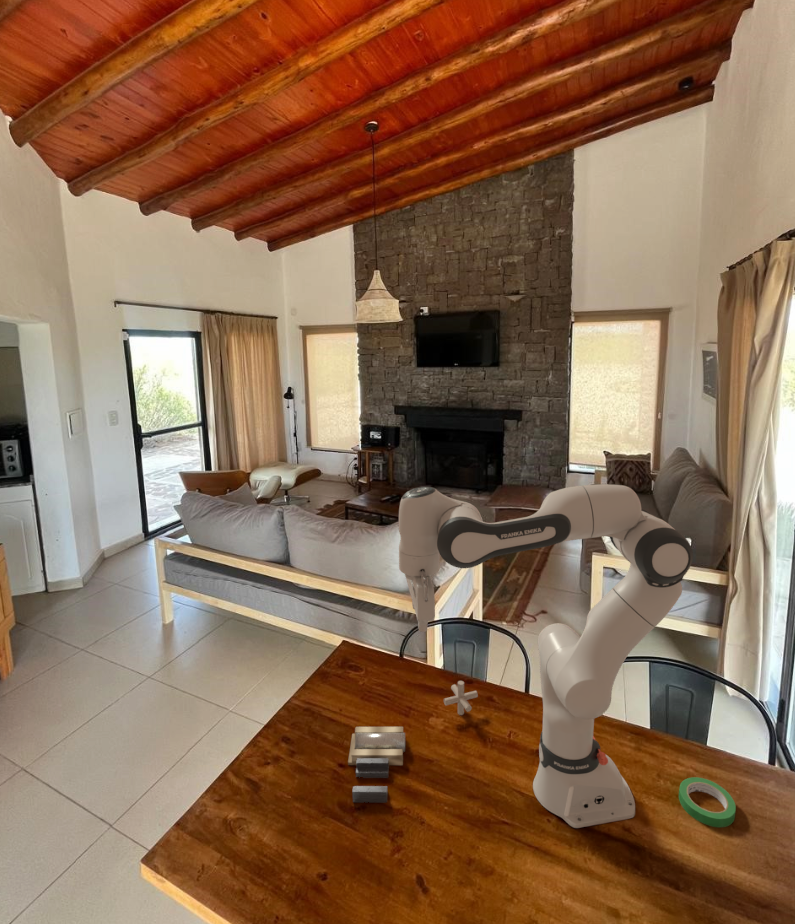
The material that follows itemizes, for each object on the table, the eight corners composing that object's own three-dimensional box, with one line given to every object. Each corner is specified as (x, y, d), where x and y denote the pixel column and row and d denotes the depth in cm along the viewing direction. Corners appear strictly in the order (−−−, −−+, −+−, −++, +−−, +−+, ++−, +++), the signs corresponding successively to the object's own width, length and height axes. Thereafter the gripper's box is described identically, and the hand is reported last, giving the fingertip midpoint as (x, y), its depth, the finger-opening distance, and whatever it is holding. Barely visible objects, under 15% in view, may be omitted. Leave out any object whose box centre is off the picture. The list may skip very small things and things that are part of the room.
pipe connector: (468, 698, 156) (468, 668, 153) (484, 720, 146) (484, 689, 144) (438, 706, 152) (437, 676, 150) (452, 729, 143) (452, 697, 141)
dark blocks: (388, 768, 131) (388, 758, 130) (386, 802, 121) (386, 791, 120) (357, 768, 131) (356, 758, 130) (352, 802, 121) (352, 791, 120)
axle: (405, 746, 139) (404, 729, 139) (404, 755, 134) (404, 737, 134) (357, 746, 139) (356, 729, 139) (355, 755, 135) (354, 737, 135)
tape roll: (701, 832, 112) (703, 822, 111) (667, 790, 123) (669, 780, 122) (746, 823, 114) (748, 814, 113) (709, 783, 124) (710, 773, 124)
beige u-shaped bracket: (403, 736, 141) (403, 726, 141) (402, 765, 131) (402, 755, 131) (352, 736, 142) (352, 726, 141) (348, 765, 132) (347, 755, 131)
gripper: (442, 581, 102) (442, 643, 105) (426, 542, 122) (426, 596, 125) (411, 583, 101) (411, 646, 105) (399, 544, 121) (400, 597, 124)
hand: (419, 618), depth 115 cm, fingers open, 8 cm apart
